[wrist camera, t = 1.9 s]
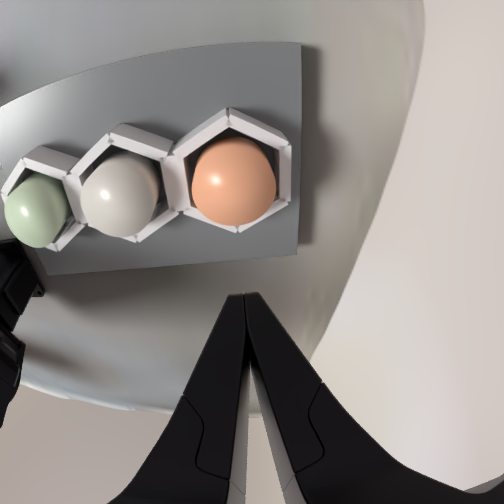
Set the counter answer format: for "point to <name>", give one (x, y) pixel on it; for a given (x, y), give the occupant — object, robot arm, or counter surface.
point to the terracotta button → (233, 182)
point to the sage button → (37, 210)
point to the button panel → (171, 115)
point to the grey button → (121, 194)
